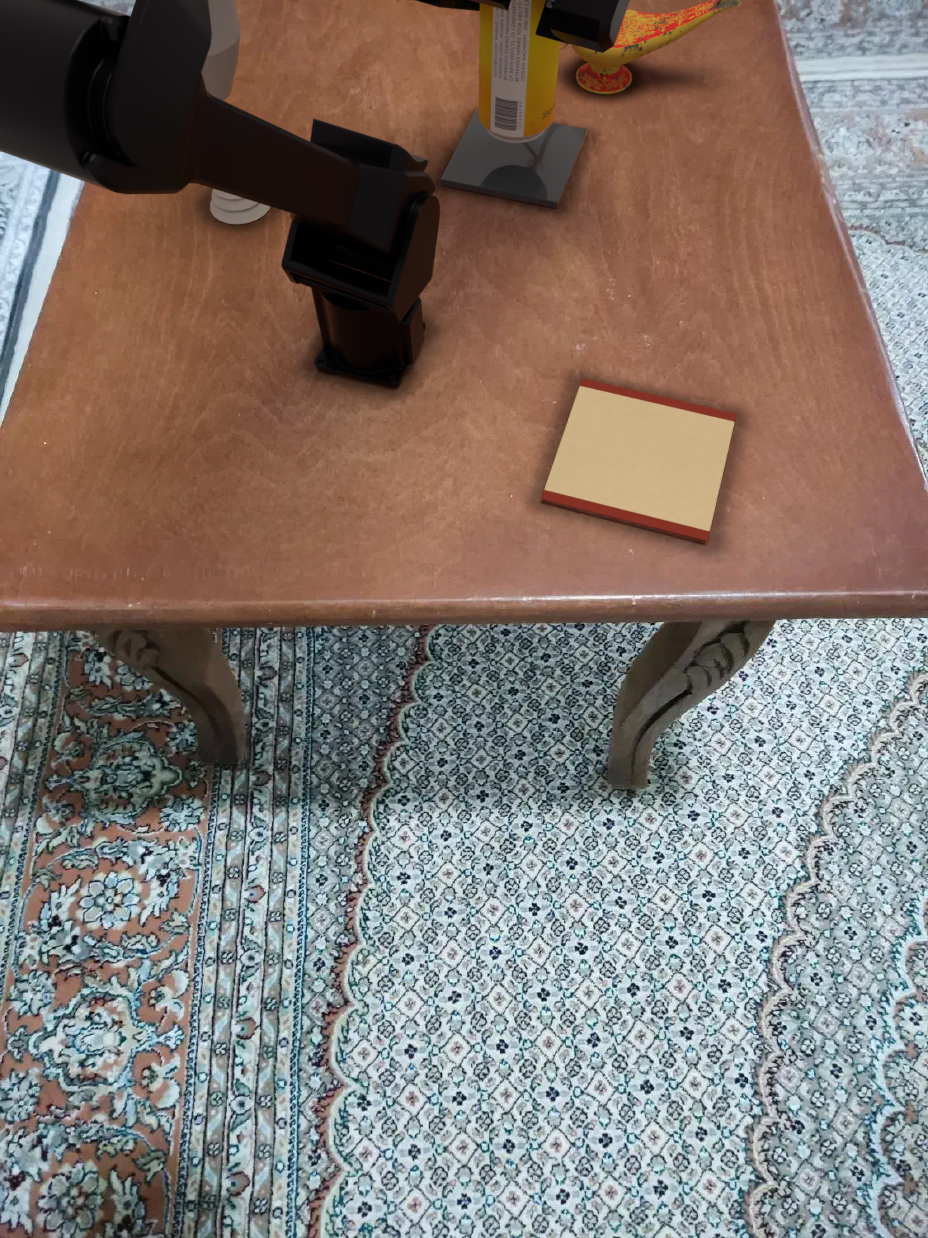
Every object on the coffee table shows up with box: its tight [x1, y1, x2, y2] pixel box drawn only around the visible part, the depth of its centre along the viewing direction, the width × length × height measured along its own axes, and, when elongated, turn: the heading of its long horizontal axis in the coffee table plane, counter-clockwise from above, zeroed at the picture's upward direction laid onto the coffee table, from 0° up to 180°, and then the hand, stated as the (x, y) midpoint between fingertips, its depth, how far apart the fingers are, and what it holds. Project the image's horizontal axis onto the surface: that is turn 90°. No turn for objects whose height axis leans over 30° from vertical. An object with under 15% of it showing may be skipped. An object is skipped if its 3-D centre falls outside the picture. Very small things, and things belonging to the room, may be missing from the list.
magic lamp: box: [560, 0, 742, 95], centre depth 75 cm, size 7×18×11 cm, turn 85°
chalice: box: [201, 0, 271, 225], centre depth 65 cm, size 7×7×18 cm
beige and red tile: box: [540, 378, 737, 545], centre depth 60 cm, size 11×11×1 cm
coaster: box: [440, 108, 589, 209], centre depth 75 cm, size 10×10×1 cm
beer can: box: [477, 0, 561, 143], centre depth 65 cm, size 6×6×15 cm
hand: (528, 14), depth 66 cm, fingers closed on beer can, 6 cm apart
